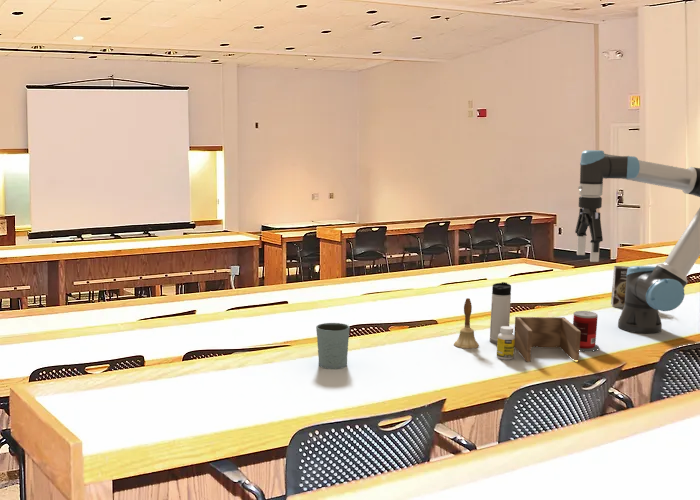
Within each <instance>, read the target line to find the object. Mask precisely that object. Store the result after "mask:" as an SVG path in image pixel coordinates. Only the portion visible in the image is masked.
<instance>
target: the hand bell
mask: <svg viewBox="0 0 700 500" xmlns="http://www.w3.org/2000/svg"><path fill="white" fill-rule="evenodd" d="M472 308H473V306H472V301H471V299H470V298H465V302H464V304H463V313H464V327H463V328H461V329H460V331H459V335H458V338H457V339H456V341H454V343H453V346H454V347H456V348H459V349H467V350H469V349H470V350H471V349H473V350H474V349H477V348H479V347H480V345H479V343H478V341H477V340H476V338H475V330H474V329H473V328H471V322H470V321H471V315H472V311H473V309H472Z"/></svg>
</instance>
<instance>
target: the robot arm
mask: <svg viewBox="0 0 700 500" xmlns="http://www.w3.org/2000/svg"><path fill="white" fill-rule="evenodd" d="M579 165H580V169H579V173H580V174H579V186H577V187H578V188H577V189H578V190H579V193H578V194H579V195H580V196H579V197H578V207H579V209H578V211H579V213H578V217H577V222H576V227H575V231H574V232H575V233H574V234H576V236H577V240H576V242H577V243H576V255H577V256H586V241H587V240H586V239H587V237H586V236H587V235H588V234H587V230H588V228H589V232H590V238H591V240H590V241H589V243H590V255H589V261H590V263H592V262H594V263H596V262H597V263H598V262H600V247H601V245H600V244H601V242H603V240H604V238H603V232H602V230H603V229H602V223H601V212H598V211H597V209H598V210H599V209H601V208H602V207H603V206H602V202H603V198H602V197H601V196H602V195H603V187H604V183H603V182H604V179H605V180H606V179H618V180H619V179H621V180H627V181H632V182H637V183H644V184H649V185H654V186H659V187H665V188H669V189H670V188H671V189H675V190H680V191H682V192H683V193H684V194H687V195H692V196H695V197H698V198H700V167H693V166H689V167H688V168H683V167H677V166H673V165H669V164H668V165H667V164H663V163H662V164H661V163H657V162H650V161H646V160H642V159H641V160H640V159H638V157H636V156H630V155H625V156H624V155H623V156H622V155H615V154H608V153H605V152H604V150H598V149H596V150H595V149H585V150H583V151H581V156H580V162H579ZM699 257H700V207H699V208H698V209H697V211H696V213H695V214H694V215H693V218H692V219H691V221H690V222H689V224H687V226H686V228H685V229H684V231H683V232H682V234H681V236H680V238H679V239H678V240H677V242H676V243H675V245H674V246H673V248H672V249H671V251H670V252H669V255H668V256H667V257H666V258H665V260H664V262H663V263H659V264H656V266H648V265H647V266H646V265H633V266H628V267H629V268H628V270H627V275H626V291H625V305H624V308H623V307H622V311H621V314H620V316H619V317H618V322H617V327H618V328H619V329H621V330H624V331H627V332H631V333H638V334H639V333H640V334H655V333H657V334H658V333H660V332H662V328H663V324H662V320H661V315H660V311H661V312H669V311H670V312H671V311H673V310H675V309H677V308H678V307H680V305H681V304H682V303H683V302H684V301H683V300H684V298H685V287H686V286H687V284H688V279H687V278H688V277H687V276H688V274H689V272H690V271H691V269H692V268H693V266H694V265H695V264H696V262H697V260H698V259H699Z"/></svg>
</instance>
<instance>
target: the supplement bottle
mask: <svg viewBox="0 0 700 500" xmlns="http://www.w3.org/2000/svg"><path fill="white" fill-rule="evenodd" d="M500 332H501V333H500V334H498V340H497V344H496V358H497V359H501V360H505V361H507V360H513V359H514V356H515V347H514V346H515V336H514V327H513V326H510V325H509V326H502V327H501V329H500Z"/></svg>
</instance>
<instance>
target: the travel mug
mask: <svg viewBox="0 0 700 500" xmlns="http://www.w3.org/2000/svg"><path fill="white" fill-rule="evenodd" d="M491 292H492V293H491V304H490V305H491V307H490V326H489V327H490V328H489V342H490V343H492V344H496V345H497V340H498V334H500V333H501V332H500V329H501V327H502V326H509V327H510V321H511V320H510V319H511V318H510V315H511V303H512V302H511V296H512V293H511V292H512V285H511V284H509V283H508V282H504V281H502V282H498V283H493V284H492V290H491Z"/></svg>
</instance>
